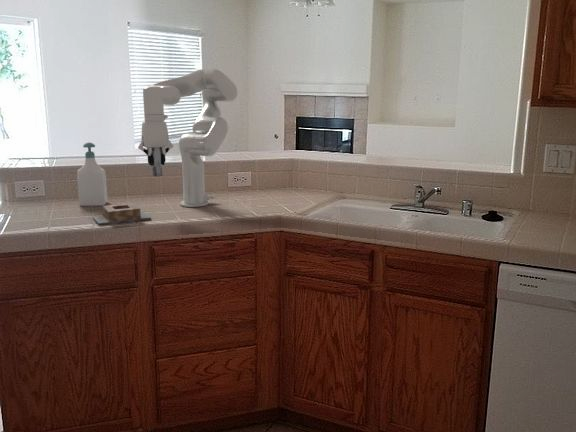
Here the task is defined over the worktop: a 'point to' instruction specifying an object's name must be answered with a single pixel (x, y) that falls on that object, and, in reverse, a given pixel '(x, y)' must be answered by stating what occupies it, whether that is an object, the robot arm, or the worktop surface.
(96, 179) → the soap bottle
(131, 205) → the docking mount
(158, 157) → the grey metallic cylinder
